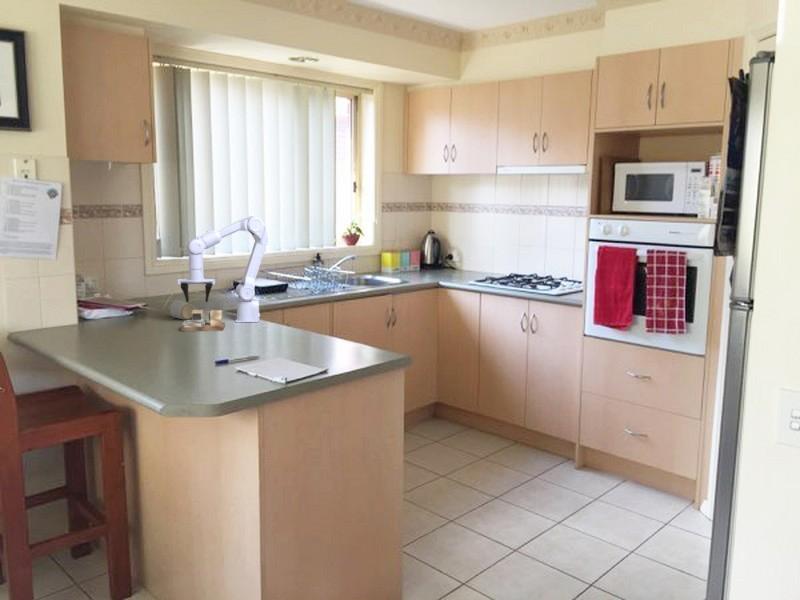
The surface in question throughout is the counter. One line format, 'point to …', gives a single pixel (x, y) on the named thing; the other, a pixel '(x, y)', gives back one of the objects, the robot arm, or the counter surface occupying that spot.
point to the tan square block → (197, 315)
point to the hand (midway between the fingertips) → (197, 301)
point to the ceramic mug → (181, 310)
